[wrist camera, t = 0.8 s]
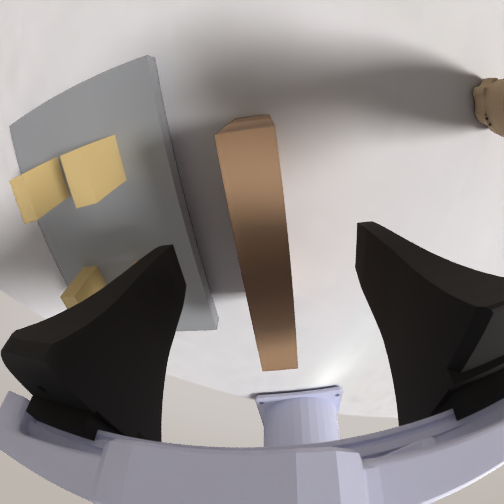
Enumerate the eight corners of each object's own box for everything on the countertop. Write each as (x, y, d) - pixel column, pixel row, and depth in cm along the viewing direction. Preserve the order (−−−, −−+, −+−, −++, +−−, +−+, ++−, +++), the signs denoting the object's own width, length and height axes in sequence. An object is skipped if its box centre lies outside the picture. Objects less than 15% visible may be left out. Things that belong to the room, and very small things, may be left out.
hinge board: (218, 318, 18) (211, 366, 15) (99, 321, 19) (78, 359, 16) (154, 57, 10) (116, 47, 7) (19, 122, 11) (-26, 138, 8)
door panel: (289, 287, 17) (297, 368, 12) (263, 290, 17) (262, 371, 12) (268, 114, 12) (274, 126, 7) (234, 118, 12) (213, 135, 7)
